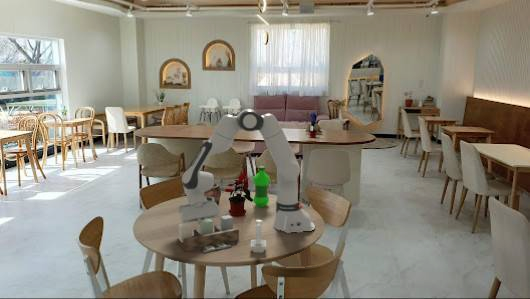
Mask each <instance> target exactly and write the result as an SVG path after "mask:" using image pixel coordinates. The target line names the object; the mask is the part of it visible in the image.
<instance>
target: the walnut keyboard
mask: <svg viewBox="0 0 530 299" xmlns="http://www.w3.org/2000/svg"><path fill="white" fill-rule="evenodd" d="M239 240H240V229H239V228H238V227H235V228H233V229H230V230H225V231H222V230H221V227H219V226H217V225H214V226H213V233H210V234H205V235H201V234H200V232H199V231H198V230H197V229H193V235H192V237H190V238H185V239H183V243H181V241H180V240H179V238H176V244H178V245H179V247H180V248H181V249H182V250H183V251H184V252H189V251H193V250H200V251H201V252H202V253H203V254H207V253H211V252H216V251H220V250H225V249H229V248H232V245H231V244H230V243H229V242H235V241H239Z"/></svg>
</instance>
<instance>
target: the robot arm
mask: <svg viewBox="0 0 530 299" xmlns="http://www.w3.org/2000/svg"><path fill="white" fill-rule="evenodd" d="M241 130H243V131H246V132H255V131H259V133H260V135H261V137H262V139H263V141H264V142H265V145H266V147H267V149H268V151H269V155H271V159H272V160H273V162H274V165H275V167H276V183H277V184H276V190H277V191H276V193H277V194H276V201H275V202H276V203H275V218H274V222H273V225H272V226H273V228H274V229H276V230H278V231H280V230H281V232H283V231H284V232H283V233H285V232H286V234H292V233H291V232H297V233H304V232H303V231H312V230H314V229H315V230H316V226H315V223H314V222H313V221H311V220H312V219H311V217H310V214H309V213H308V212H306V211H305V210H304V209H303V204H302V202H300V201H298V199H299V198H298V194H299V187H298V186H299V184H298V177H299V175H300V172H301V168H300V164H299V162H298V159H297V158H296V155H295V153H294V151H293V150H292V147H291V145H290V143H289V141H288V139H287V137H286V135H285V132H284V130H283V128H282V126H281V124H280V122H279V121H278V119H277V117H276V116H275V115H274V114H272V113H265V114H262V115H261V114H259V113H258V112H256V110H254V109H251V108H245V109H242V110H240V111H239V112H238V113H236V114H235V115H232V114H225V115H223V116H222V117H221V118H220V119H219V121H218V123H217V125H216V126H215V128H214V131H213V132H212V134H211V136H210V137H209V138H208V139H207V140H206V141H205V142H203V143H202V145H201V146H200V147H199V149H198V151H197V152H196V154H195V155H194V157H193V159H192V161H191V162H190V163H189V165H188V167H187V168H186V169H185V171H184V172H183V173H182V176H181V183H182V185H183V190H184V193H185V195H186V202H187V204H182V205H180V206H179V207H178V212H179V215H180V219H181V220H180V221H181V223H182V224H183V223H188V222H189V223H193V222H197V225H199V226H200V220H205V219H214V218H219V216H220V214H221V210H220V208H219V205H217V204H216V203H215V202H214V198H213V197H207V196H204V195H203V193H204V192H207V191H209V190H210V189H212V188H213V186H214V184H216V183H215V182H216V181H215V180H216V179H215V176H214V174H213V173H211V172H207V171H201V170H202V168H203V166H204V165H205V163H206V162H207V160H208V159H209V158H210V157H211V156H213V155H217V154H221V153H224V152H227V151H229V149H230V148H231V147H232V144H233V143H234V141H235V138H236V135H237V134H238V132H240V131H241ZM315 230H314V231H315ZM312 232H313V231H312Z"/></svg>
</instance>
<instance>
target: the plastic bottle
mask: <svg viewBox="0 0 530 299" xmlns="http://www.w3.org/2000/svg"><path fill="white" fill-rule="evenodd" d="M257 169H258V171H259V172H257V173H256V174H255V175H254V176H253V185H255V186H254V188H255V189H254V190H255V191H254V197H253V203H254V204H255V205H256V207H259V208H263V207H264V208H265V207H266V206H267V205H269V204H268V203H269V202H270V200H269V195H268V186H269V184H270V181H271V179H270V178H271V177H270V176H269V175H268V174H267V173H266V172H265V171H266V167H265V166H264V165H260V166H258V168H257Z"/></svg>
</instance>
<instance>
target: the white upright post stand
mask: <svg viewBox="0 0 530 299" xmlns="http://www.w3.org/2000/svg"><path fill="white" fill-rule="evenodd" d="M262 225H263V220H261V219H256V220H255V239H251V240H250V248H251V250H252V252H253V253H260V254H261V253H264V251H265V249H266V247H267V240H266V239H262Z"/></svg>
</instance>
